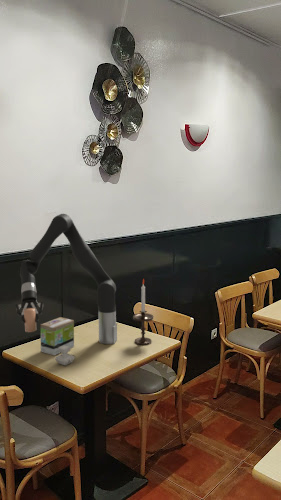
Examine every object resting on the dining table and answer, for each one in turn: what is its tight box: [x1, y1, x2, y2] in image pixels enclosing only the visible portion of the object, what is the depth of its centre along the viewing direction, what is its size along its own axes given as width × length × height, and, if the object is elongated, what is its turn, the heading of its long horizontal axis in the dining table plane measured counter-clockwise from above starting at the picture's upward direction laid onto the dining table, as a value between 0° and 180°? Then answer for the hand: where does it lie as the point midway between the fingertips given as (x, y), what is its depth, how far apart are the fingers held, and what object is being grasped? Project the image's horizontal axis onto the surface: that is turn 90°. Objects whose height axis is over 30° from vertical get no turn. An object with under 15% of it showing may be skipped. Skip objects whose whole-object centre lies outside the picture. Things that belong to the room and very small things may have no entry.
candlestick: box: [132, 278, 154, 346], centre depth 246 cm, size 11×11×35 cm
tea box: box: [40, 316, 75, 357], centre depth 238 cm, size 15×10×15 cm, turn 148°
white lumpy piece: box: [54, 345, 75, 366], centre depth 221 cm, size 9×7×8 cm
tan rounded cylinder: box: [24, 308, 37, 333], centre depth 233 cm, size 6×6×11 cm
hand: (30, 322), depth 231 cm, fingers closed on tan rounded cylinder, 5 cm apart
